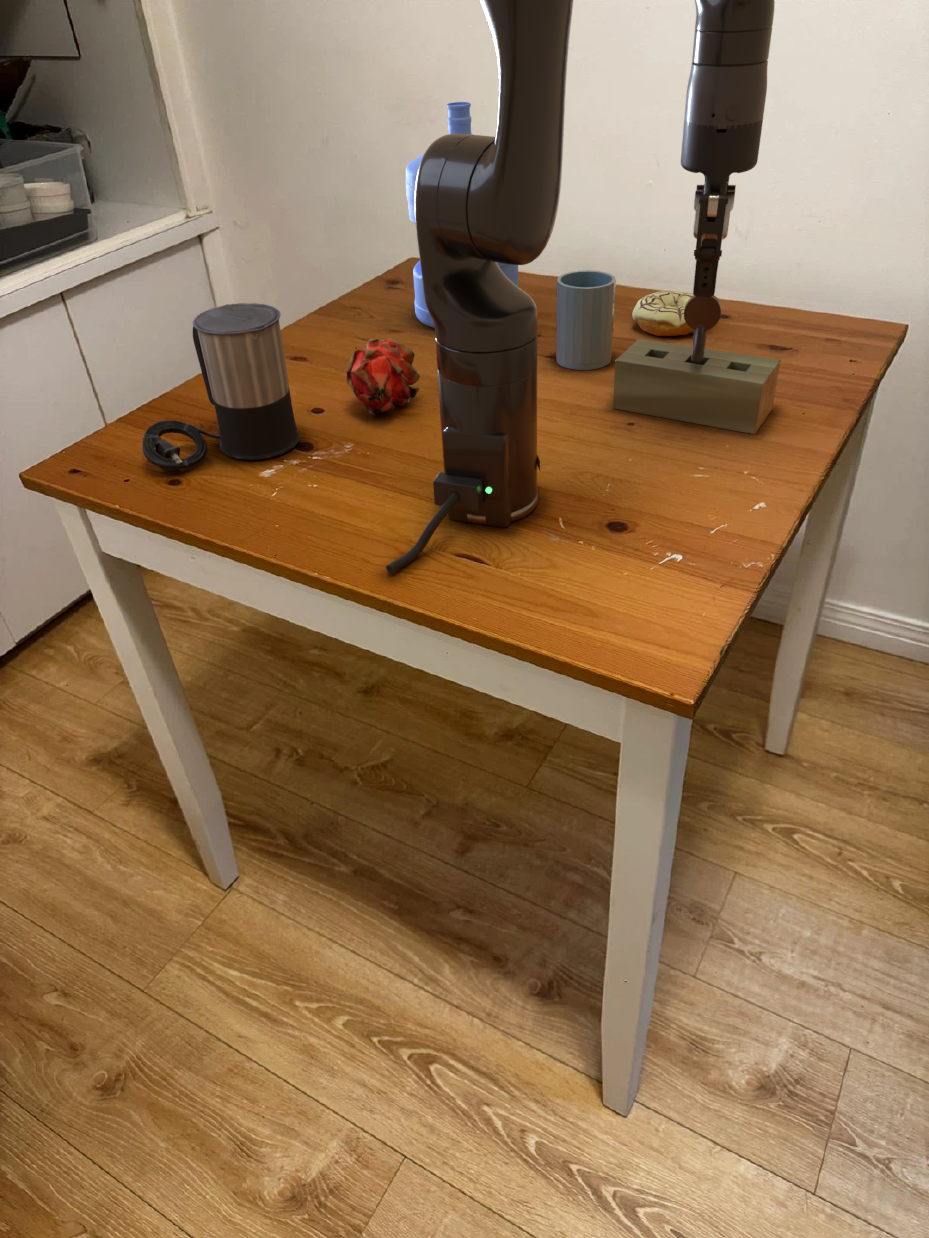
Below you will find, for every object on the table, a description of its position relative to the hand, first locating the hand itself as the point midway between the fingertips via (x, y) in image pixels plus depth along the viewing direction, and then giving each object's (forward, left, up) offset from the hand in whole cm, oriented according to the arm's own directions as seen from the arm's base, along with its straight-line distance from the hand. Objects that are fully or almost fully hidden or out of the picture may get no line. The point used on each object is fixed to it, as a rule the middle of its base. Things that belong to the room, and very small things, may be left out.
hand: (705, 283), depth 99 cm
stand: (0, 0, -15) cm, 15 cm away
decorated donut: (+27, +7, -15) cm, 31 cm away
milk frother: (-24, +49, -15) cm, 57 cm away
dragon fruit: (-8, +36, -15) cm, 40 cm away
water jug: (+25, +37, -15) cm, 47 cm away
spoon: (0, 0, -15) cm, 15 cm away
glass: (+12, +16, -15) cm, 25 cm away
